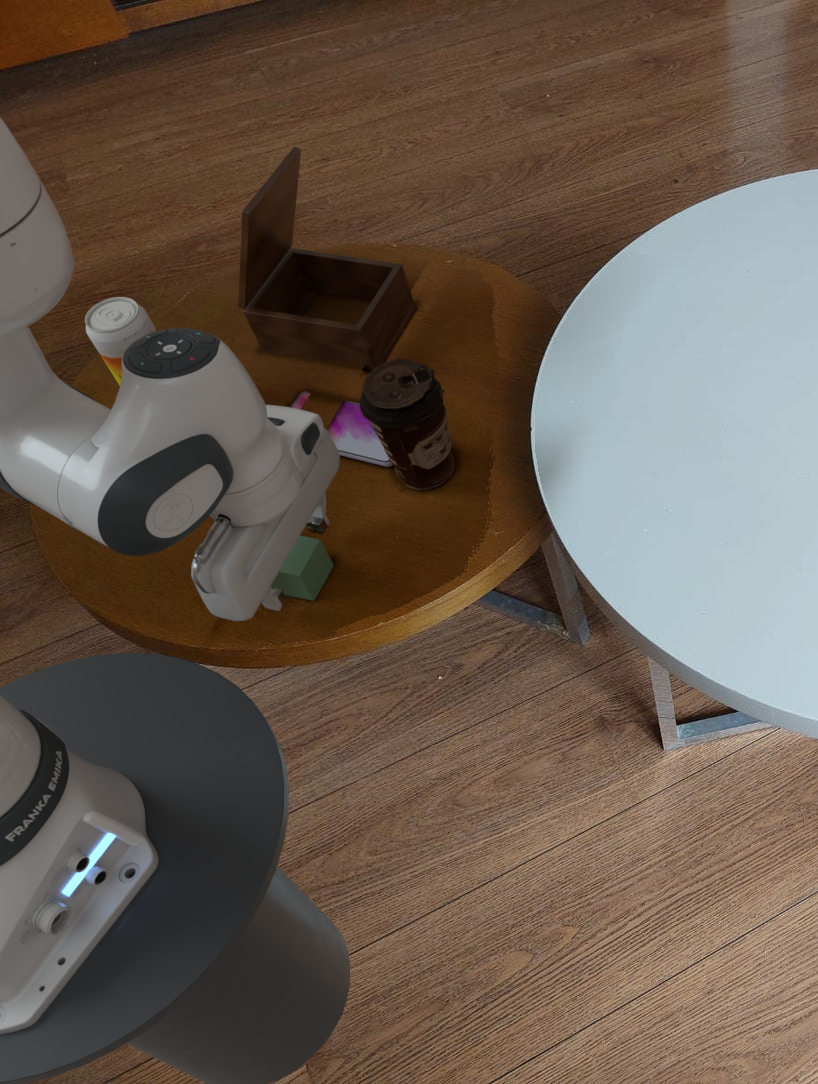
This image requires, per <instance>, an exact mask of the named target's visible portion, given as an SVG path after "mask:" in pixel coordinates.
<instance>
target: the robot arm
mask: <svg viewBox="0 0 818 1084" xmlns="http://www.w3.org/2000/svg"><path fill="white" fill-rule="evenodd" d="M65 227H66V226H65V225H64V222H63V220H62V217H61V215H60V213H59V212H58V210H57V207H56V206H55V204H54V202H53V200H52V198H51V196H50V195H49V193H48V191H47V188H46V187H45V185H44V184H43V182H42V180H41V179H40V176H39V175H38V174H37V172H36V170H35V169H34V167H33V165H32V163H31V162H30V160H29V158H28V157H27V155H26V153H25V152H24V150H23V148H22V147H21V145H20V144H19V142H18V140H16V138H15V136H14V135H13V133H12V132H11V130H10V128H9V127H8V126H7V124H6V122H5V121H4V120H3V118H2V117H1V116H0V489H1V490H2V491H3V492H6V493H7V494H9V495H11V496H14V497H15V498H18V499H20V500H22V501H25V502H26V503H28V504H31V505H34V506H35V507H38V508H40V509H42V510H43V511H44V512H47V513H48V514H50V515H52V516H53V517H55V518H57V519H58V520H60V521H62V522H63V523H65V524H67V525H68V526H70V527H71V528H73V529H74V530H77V531H79V532H81V533H83V534H84V535H86V536H88V537H90V538H91V539H93V540H94V541H96V542H98V543H100V544H102V545H103V546H105V547H106V548H109V549H110V550H112V551H113V552H115V553H117V554H120V555H124V556H130V557H141V556H147V555H153V554H156V553H159V552H162V551H165V550H167V549H168V548H171V547H172V546H174V545H176V544H178V543H179V542H180V541H183V540H184V539H185V538H186V537H187V536H189V535H190V534H191V533H192V532H194V531H195V530H196V529H197V528H198V527H199V526H200V525H202V524H203V523H204V522H205V521H206V520H207V519H208V517H209V516H210V518H212V519H213V520H214V522H213V524H212V525H211V527H210V528H209V530H208V532H207V534H206V536H205V538H204V540H203V541H202V543H200V544H199V545H198V547H197V548H196V549H195V553H194V555H193V559H192V562H191V570H190V571H191V573H190V574H191V575H190V576H191V579H192V582H193V583H194V585H195V588H196V589H197V592H198V595H199V596H200V598H201V601H202V602H203V603H204V606H205V607H206V608H207V610H208V611H209V613H210V614H211V615H213V616H214V617H217V618H220V619H223V620H228V621H234V622H243V621H244V622H246V621H249V620H252V618H253V617H254V615H255V614H256V612H257V610H258V609H259V607H260V606H261V604H262V606H263V607H264V608H265V609H268V610H272V611H277V612H280V611H281V610H282V609H283V606H284V604H285V602H286V600H287V598H288V596H287V595H284V592H283V590H282V589H277V588H275V589H272V587H270V586H271V585H272V583H273V581H274V579H275V578H276V576H277V574H278V573H279V571H280V569H281V567H282V566H283V564H284V562H285V561H286V559H287V557H288V555H289V554H290V552H291V550H292V548H293V547H294V545H295V543H296V542H297V540H298V538H299V536H302V533H303V531H304V530H305V528H306V530H308V532H309V533H312V534H318V535H324V534H325V532H326V530H327V528H328V527H329V526H330V524H331V522H330V519H329V518H328V516H327V494H326V492H327V490H328V488H329V487H330V485H331V483H332V482H333V480H334V478H335V476H336V475H337V473H338V471H339V470H340V465H341V461H340V460H341V455H340V454H339V451H338V449H337V447H336V445H335V443H334V441H333V439H332V437H331V435H330V434H329V432H328V431H327V430H326V429H327V428H325V426H324V421H323V419H322V416H321V415H320V414H318V413H316V412H312V411H308V410H304V409H296V408H291V406H283V405H275V404H266V403H265V400H264V397H262V395H261V393H260V391H259V389H258V387H257V386H256V384H255V382H254V380H253V379H252V376H251V375H250V374H249V372H248V370H247V369H246V367H245V366H244V365H243V363H242V362H241V361H240V359H239V358H238V356H237V355H236V354H235V353H234V352H233V350H232V349H231V348H230V347H229V346H228V345H227V343H225V341H223V340H221V339H220V338H219V337H217V336H216V335H213V334H210V333H208V332H206V331H203V330H199V329H195V328H190V327H170V328H164V329H160V330H157V331H156V332H152V333H150V334H147V335H145V336H143V337H141V338H139V339H137V340H136V341H134V342H133V343H132V344H131V345H130V346H129V347H128V348H127V349H126V350H125V352H124V354H123V357H122V380H121V385H119V388H118V392H117V393H116V398H115V400H114V403H113V405H112V407H111V409H110V408H109V407H107V406H105V405H103V404H102V403H100V402H99V401H97V400H96V399H94V398H93V397H91V396H90V395H88V394H87V393H85V392H83V391H81V390H79V388H77V387H75V386H73V385H72V384H70V383H68V382H66V381H64V380H61V379H60V378H59V377H58V376H57V375H56V373H55V372H54V371H53V370H52V368H51V366H50V364H49V363H48V360H47V359H46V357H45V355H44V354H43V352H42V350H41V348H40V346H39V344H38V342H37V340H36V338H35V337H34V335H33V333H32V331H31V329H30V326H31V325H33V324H35V323H37V322H38V321H39V320H41V319H42V318H43V317H45V316H47V314H48V313H50V312H51V311H53V309H54V308H55V307H56V306H57V304H58V303H59V302H60V301H61V300H62V298H63V297H64V295H65V293H66V291H67V289H69V285H70V283H71V281H72V278H73V274H74V270H75V265H76V263H75V257H74V254H73V253H74V252H73V250H72V246H71V243H70V239H69V236H68V233H67V229H66V228H65ZM158 863H159V857H158V853H157V851H156V849H155V847H154V846H153V844H152V842H151V841H150V839H149V838H148V836H147V832H146V820H145V808H144V804H143V800H142V798H141V795H140V793H139V791H138V790H137V788H136V787H135V785H134V784H133V783H132V782H131V781H130V780H129V779H128V778H127V777H125V776H124V775H122V774H121V773H119V772H117V771H115V770H112V769H109V768H106V767H102V766H98V765H95V764H92V763H90V762H88V761H86V760H84V759H82V758H80V757H78V756H77V755H75V754H73V753H71V752H70V751H68V750H67V749H66V746H65V743H64V742H63V741H62V740H61V739H60V738H59V737H58V736H56V735H55V732H54V731H53V730H52V729H50V728H49V727H48V726H47V725H46V724H44V723H43V722H42V721H40V720H39V719H37V718H36V717H34V716H32V715H31V714H29V713H28V712H26V711H24V710H17V709H16V708H14V707H13V706H12V705H11V704H10V703H9V702H8V701H6V700H5V699H4V698H3V697H2V696H1V695H0V1035H1V1034H6V1033H11V1032H15V1031H18V1030H21V1029H24V1028H27V1027H29V1026H31V1025H33V1024H34V1023H35V1022H36V1021H37V1020H38V1019H39V1018H40V1017H41V1016H42V1014H43V1013H44V1012H45V1010H46V1009H47V1008H48V1007H49V1005H50V1004H51V1003H52V1002H53V1000H54V999H55V998H56V997H57V995H58V994H59V993H60V991H61V990H62V989H63V988H64V986H65V985H66V984H67V982H68V981H69V980H70V979H71V977H72V976H73V975H74V973H75V972H76V971H77V970H78V968H79V967H80V966H81V965H82V963H83V962H84V961H85V959H86V958H87V957H88V956H89V954H90V953H91V952H92V950H93V949H94V948H95V947H96V945H97V944H98V943H99V942H100V940H101V939H102V938H103V936H104V935H105V934H106V933H107V931H108V930H109V929H110V927H111V926H112V925H113V924H114V922H115V921H116V920H117V918H118V917H119V916H120V915H121V913H122V912H123V911H124V910H125V908H126V907H127V906H128V904H129V903H130V902H131V901H132V899H133V898H134V897H135V895H136V894H137V893H138V892H139V890H140V889H141V888H142V887H143V885H144V884H145V883H146V881H147V880H148V879H149V878H150V876H151V875H152V874H153V872H154V871H155V870H156V868H157V866H158ZM134 871H135V875H134V876H133V877H132V878H129V875H130V874H131V873H132V872H134Z"/></svg>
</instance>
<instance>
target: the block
mask: <svg viewBox="0 0 818 1084" xmlns="http://www.w3.org/2000/svg"><path fill="white" fill-rule="evenodd" d="M334 567H335V564H334V563H333V561H332V559H331V557H330V555H329V554H328V552H327V550H326V548H325V546H324V544H323V543H322V540H321V539H320V538H314V537H309V536H305V535H300V536H299V538H298V540H297V542H296V543H295V545H294V547H293V548H292V550H291V552H290V554H289V555H288V557H287V559H286V561H285V562H284V564H283V566H282V567H281V569H280V571H279V573H278V574H277V576H276V578H275V579H274V581H273V583H272V585H271V586H270V587H272V589H275V588H277V589H282V590H283V592H284V595H285V596H287V597H293V598H299V599H302V600H309V601H312V602H315V601H316V599H317V597H318V595H319V593H320V592H321V590H322V588H323V586H324V584H325V583H326V581H327V579H328V577H329V575H330V573H331V572H332V570H333V568H334Z"/></svg>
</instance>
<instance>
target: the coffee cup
mask: <svg viewBox="0 0 818 1084" xmlns="http://www.w3.org/2000/svg"><path fill="white" fill-rule="evenodd" d="M435 373H436V371H435V370H433V369H432V368H430V367H428V365H427V364H424V363H419V362H417V361H414V360H411V359H408V358H394V359H392V360H388V361H387V362H383V364H382V365H380V366H378V367H376V368H375V369H374V370H373V371H371V373H370V372H369V373H368V375H367V377H365V379H364V383H363V387H362V392H361V394H360V398H359V404H360V410H361V412H362V414H363V416H364V417H365V418H366V419H368V420H369V421H370V423H371V424H372V426H373V427H374V429H375V433H376V434H377V436H378V438H379V440H380V442H381V444H382V445H383V447H384V450H385V452H386V454H387V455H388V458H389V460H390V462H391V463H392V464H393V465H392V466H394V472H395V474H396V476H397V478H398V479H399V480H400V481H401V482H402V483H403V484H404V486H407V487H408V488H411V489H414V490H418V491H423V490H430V489H434V488H436V487H438V486H440V485H442V484H443V483H445V482H446V481H447V480H448V479H449V478H450V477H451V476H452V474H453V473H454V469H455V458H454V455H453V453H452V451H451V450H452V446H453V445H452V436H451V433H450V428H449V419H448V415H447V408H446V405H445V404H444V398H443V397H444V392H445V390H444V389H443V388H442V385H441V381H439V380H438V379H437V378H435Z"/></svg>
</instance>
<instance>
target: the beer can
mask: <svg viewBox="0 0 818 1084" xmlns="http://www.w3.org/2000/svg"><path fill="white" fill-rule="evenodd" d="M84 324H85V333H86V335H87V336H88V338H89V339H90V342H92V344H93V346H94V348H95V350H96V351H97V353H98V354H99V355H100V357H101V359H102V360H103V362H104V363H105V365H106V366H107V368H108V370H109V371H110V373H111V374H112V376H113V377H114V379H115V381H116V382H117V384H118V386H120V385H121V380H122V357H123V354H124V352H125V350H126V349H127V348H128V347H129V346H130V345H131V344H132V343H133V342H134V341H136V340H137V339H139V338H141V337H143V336H145V335H147V334H150V333H152V332H156V331H158V330H157V328H156V327H155V325H154V323H153V321H152V320H151V318H150V315H149V314H148V313H147V310H146V309H145V307H143V306H142V305H141V304H139V303H138V302H136V301H135V300H134V299H133V298H130V297H126V296H116V297H115V296H114V297H109V298H106V299H104V300H101V301H99V302H98V303H96V304H94V305H93V306H91V307H90V309H89V310H88V311H87V312H86V314H85V316H84Z"/></svg>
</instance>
